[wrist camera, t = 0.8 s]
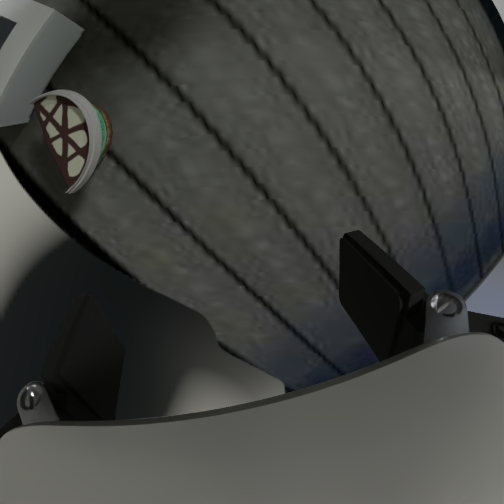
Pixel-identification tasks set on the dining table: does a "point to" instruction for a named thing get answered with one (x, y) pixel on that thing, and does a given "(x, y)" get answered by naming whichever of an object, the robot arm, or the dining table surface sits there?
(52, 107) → the food container
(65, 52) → the box
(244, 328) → the dining table surface
